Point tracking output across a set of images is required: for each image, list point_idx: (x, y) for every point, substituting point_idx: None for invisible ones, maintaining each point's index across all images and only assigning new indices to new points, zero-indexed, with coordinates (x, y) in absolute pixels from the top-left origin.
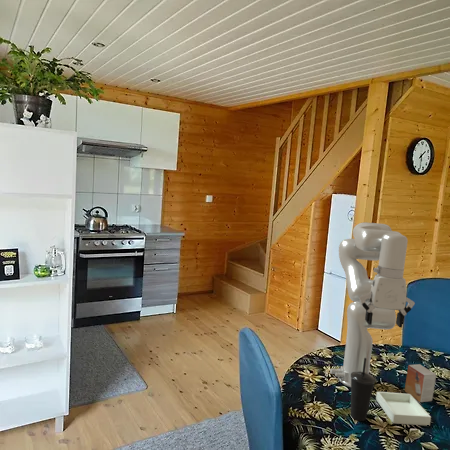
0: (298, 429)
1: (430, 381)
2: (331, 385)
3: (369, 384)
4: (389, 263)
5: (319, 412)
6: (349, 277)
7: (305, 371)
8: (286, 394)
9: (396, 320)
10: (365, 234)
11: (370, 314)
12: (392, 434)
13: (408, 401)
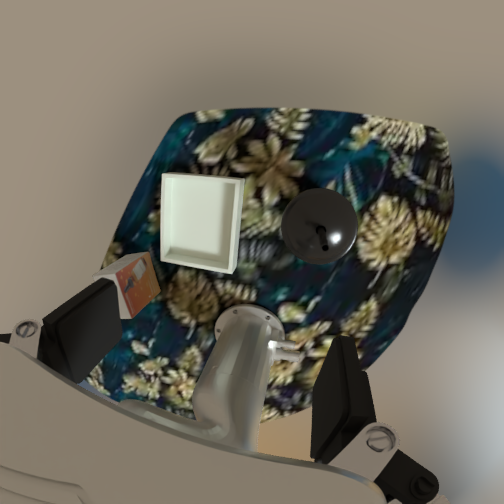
0: (450, 176)
1: (110, 268)
2: (311, 322)
3: (317, 188)
4: None
5: (391, 226)
6: None
7: None
8: (422, 292)
9: (108, 347)
10: None
11: (366, 404)
12: (268, 140)
13: (170, 252)
